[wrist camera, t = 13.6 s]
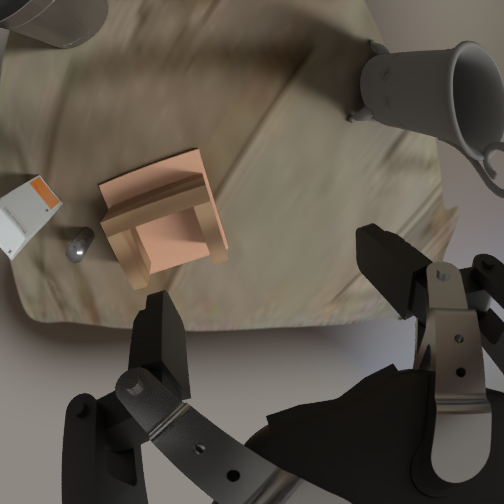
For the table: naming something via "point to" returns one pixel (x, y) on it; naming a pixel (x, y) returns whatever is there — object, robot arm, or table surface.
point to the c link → (154, 207)
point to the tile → (172, 226)
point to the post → (80, 245)
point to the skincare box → (25, 214)
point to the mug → (440, 99)
